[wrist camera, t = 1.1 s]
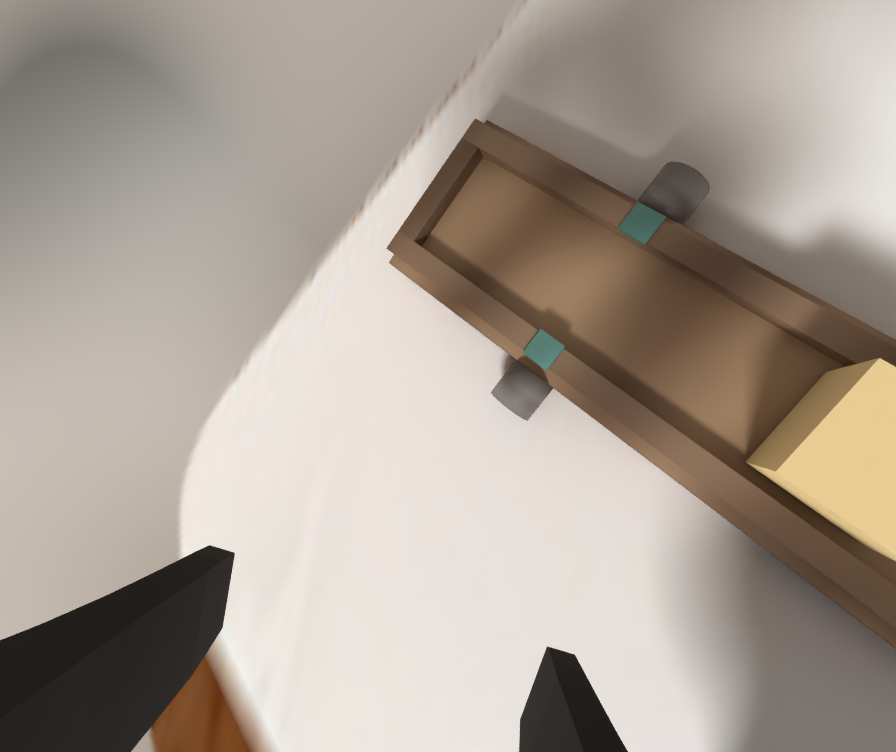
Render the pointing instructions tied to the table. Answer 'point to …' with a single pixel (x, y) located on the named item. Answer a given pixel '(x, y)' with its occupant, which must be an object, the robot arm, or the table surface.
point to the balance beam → (645, 334)
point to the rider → (842, 452)
